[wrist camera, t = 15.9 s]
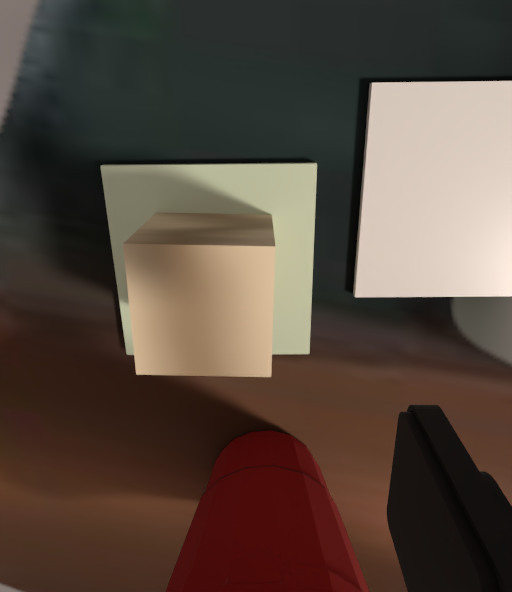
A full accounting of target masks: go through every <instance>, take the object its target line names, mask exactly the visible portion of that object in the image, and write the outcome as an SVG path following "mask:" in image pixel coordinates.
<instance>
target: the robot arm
mask: <svg viewBox="0 0 512 592" xmlns="http://www.w3.org/2000/svg"><path fill="white" fill-rule="evenodd" d="M387 520H388V525H389V529H390V533H391V536H392V539H393V543H394V546H395V550H396V553H397V556H398V560H399V563H400V566H401V570H402V573H403V576H404V580H405V583H406V587H407V590H408V592H512V506H511V505H510V503H509V502H508V500H507V498H506V497H505V495H504V494H503V492H502V491H501V489H500V487H499V486H498V484H497V483H496V481H495V480H494V479H493V477H492V476H491V475H490V474H488V473H487V472H479V470H478V469H477V467H476V465H475V464H474V462H473V460H472V459H471V457H470V455H469V454H468V452H467V450H466V449H465V447H464V445H463V444H462V442H461V441H460V439H459V437H458V436H457V434H456V432H455V431H454V429H453V427H452V426H451V424H450V422H449V421H448V419H447V417H446V416H445V414H444V413H443V411H442V409H441V408H440V407H439V406H437V405H410V406H409V407H408V410H407V412H400V414H399V418H398V425H397V433H396V441H395V449H394V457H393V465H392V473H391V481H390V489H389V496H388V504H387Z"/></svg>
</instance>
